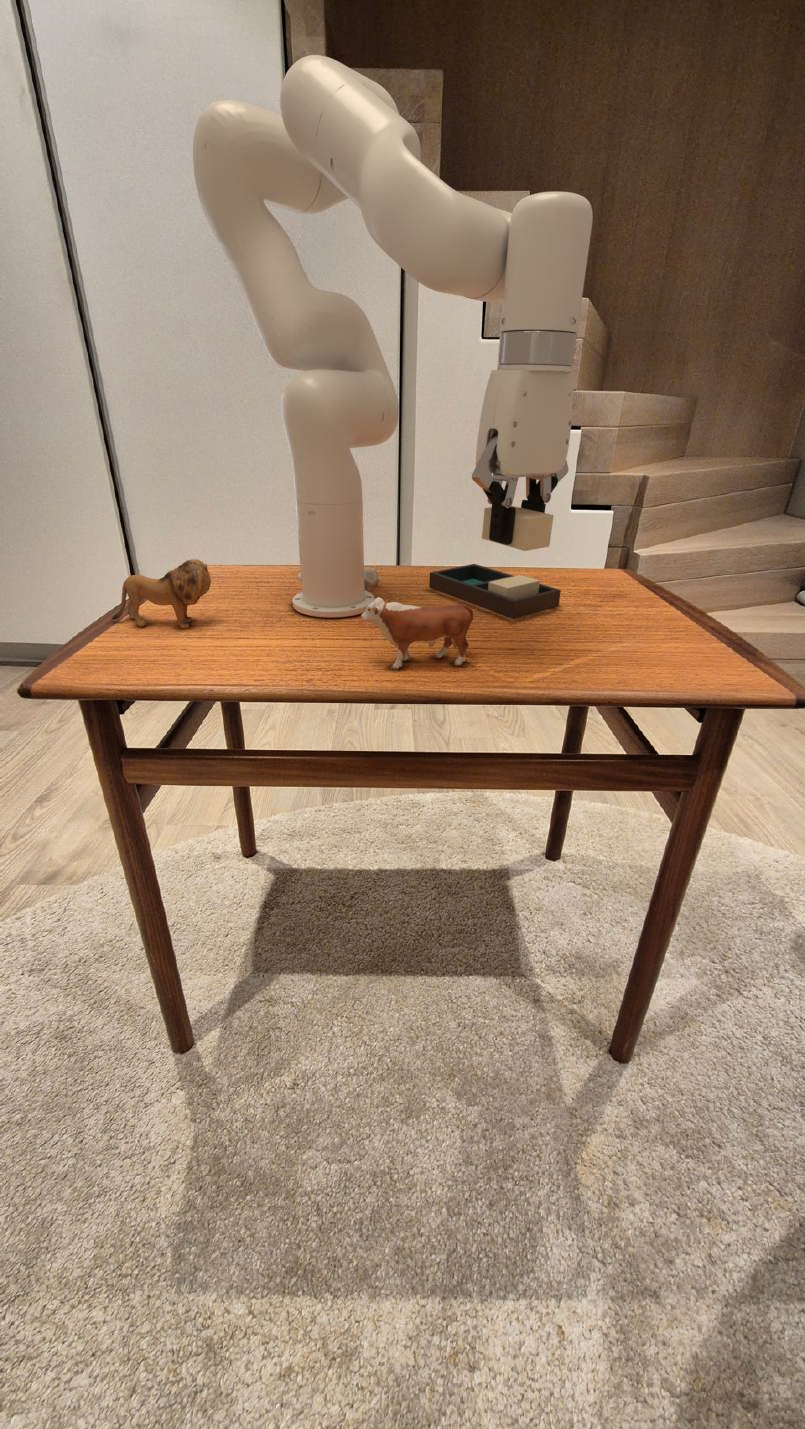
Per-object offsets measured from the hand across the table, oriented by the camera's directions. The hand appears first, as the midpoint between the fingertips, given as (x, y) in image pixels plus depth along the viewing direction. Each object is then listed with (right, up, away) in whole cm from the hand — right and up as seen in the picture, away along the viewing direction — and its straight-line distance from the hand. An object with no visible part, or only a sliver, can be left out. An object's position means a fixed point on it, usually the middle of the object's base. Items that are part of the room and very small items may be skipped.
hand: (515, 538), depth 69 cm
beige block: (+4, -3, +23) cm, 24 cm away
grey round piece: (-19, +1, +32) cm, 37 cm away
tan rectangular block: (0, 0, 0) cm, 0 cm away
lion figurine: (-46, -7, +16) cm, 50 cm away
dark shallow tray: (+1, -2, +27) cm, 27 cm away
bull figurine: (-11, -14, +4) cm, 19 cm away
